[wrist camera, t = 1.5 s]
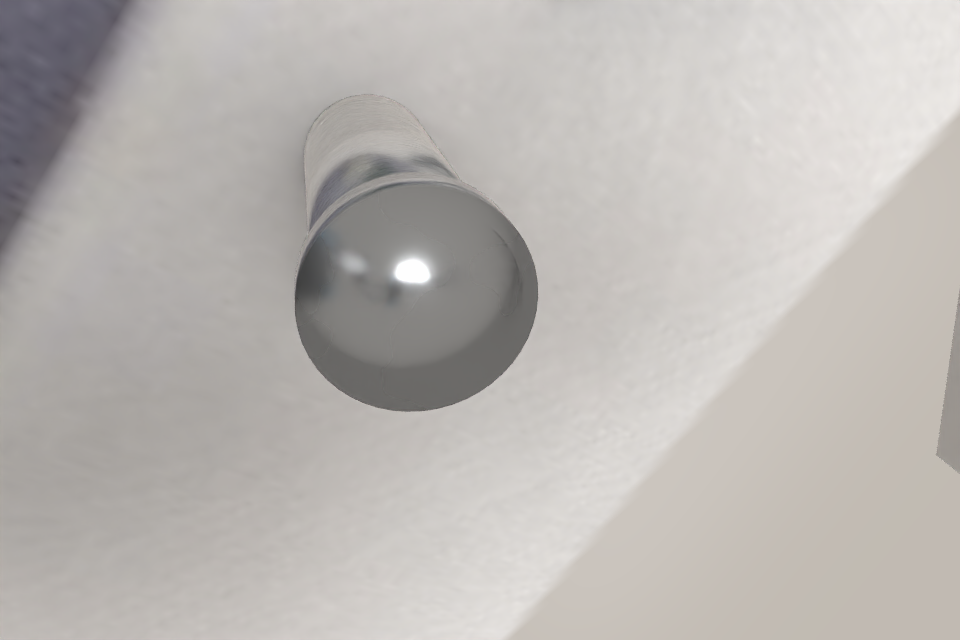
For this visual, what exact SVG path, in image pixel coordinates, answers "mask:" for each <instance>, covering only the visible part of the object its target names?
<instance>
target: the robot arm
mask: <svg viewBox="0 0 960 640" xmlns="http://www.w3.org/2000/svg"><path fill="white" fill-rule="evenodd" d="M937 456H938V457H939V458H941V459H942V460H943V461H944V462H946V463H947V464H948V465H950V466H951V467H952V468H953V469H954V470H956V471H957V472H958V473H959V474H960V291H959V298H958V306H957V312H956V320H955V326H954V333H953V340H952V348H951V355H950V362H949V369H948V376H947V384H946V390H945V398H944V404H943V412H942V419H941V426H940V433H939V440H938V447H937Z"/></svg>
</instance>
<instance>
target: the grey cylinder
mask: <svg viewBox="0 0 960 640" xmlns="http://www.w3.org/2000/svg"><path fill="white" fill-rule="evenodd" d="M304 169H305V189H306V208H307V227H308V235H307V237H306V239H305V242H304V244H303V246H302V249H301V251H300V255H299V258H298V262H297V267H296V275H295V316H296V322H297V327H298V332H299V335H300V338H301V341H302V344H303V346H304V348H305V350H306V352H307V354H308V356H309V358H310V359H311V361H312V362H313V364H314V365H315V366H316V368H317V369H318V370H319V371H320V373H321V374H322V375H323V376H324V377H325V378H326V379H327V380H328V381H329V382H330V383H332V384H333V385H334V386H335V387H336V388H338V389H339V390H341V391H342V392H344V393H345V394H347V395H348V396H350V397H352V398H354V399H356V400H358V401H361V402H363V403H365V404H368V405H371V406H375V407H378V408H382V409H388V410H393V411H407V412H410V411H426V410H432V409H438V408H442V407H445V406H449V405H452V404H455V403H457V402H460V401H462V400H465V399H467V398H469V397H471V396H473V395H475V394H476V393H478V392H480V391H481V390H483V389H484V388H486V387H487V386H489V385H490V384H491V383H493V382H494V381H495V380H496V379H497V378H498V377H499V376H501V375H502V374H503V373H504V372H505V371H506V369H507V368H508V367H509V366H510V365H511V364H512V363H513V361H514V360H515V359H516V357H517V356H518V354H519V353H520V352H521V350H522V348H523V346H524V344H525V342H526V341H527V339H528V336H529V334H530V331H531V329H532V326H533V323H534V319H535V314H536V310H537V301H538V282H537V276H536V270H535V266H534V263H533V260H532V257H531V254H530V252H529V250H528V248H527V246H526V244H525V242H524V240H523V238H522V237H521V236H520V234H519V233H518V231H517V230H516V228H515V227H514V226H513V224H512V223H511V222H510V221H509V219H508V218H507V217H506V216H505V214H504V213H503V212H502V211H501V210H500V209H499V208H498V206H497V205H496V204H495V203H494V202H493V201H491V200H490V199H489V198H488V197H487V196H485V195H484V194H483V193H482V192H480V191H478V190H477V189H475V188H473V187H472V186H470V185H468V184H466V183H464V182H462V181H461V180H460V178H459V177H458V175H457V174H456V173H455V171H454V170H453V169H452V167H451V166H450V164H449V163H448V162H447V160H446V159H445V157H444V156H443V155H442V153H441V152H440V150H439V149H438V148H437V146H436V145H435V144H434V142H433V141H432V139H431V138H430V137H429V135H428V134H427V132H426V131H425V130H424V128H423V127H422V126H421V124H420V123H419V121H418V120H417V119H416V117H415V116H414V115H413V114H412V113H411V112H410V111H409V110H407V109H406V108H405V107H404V106H402V105H401V104H399V103H397V102H395V101H393V100H391V99H389V98H385V97H382V96H377V95H365V94H364V95H355V96H351V97H347V98H345V99H342V100H339V101H338V102H336V103H334V104H332V105H331V106H329V107H328V108H327V109H325V110H324V111H323V112H322V113H321V114H320V115H319V117H318V118H317V119H316V120H315V122H314V123H313V125H312V127H311V129H310V131H309V133H308V136H307V139H306V143H305V148H304Z"/></svg>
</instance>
